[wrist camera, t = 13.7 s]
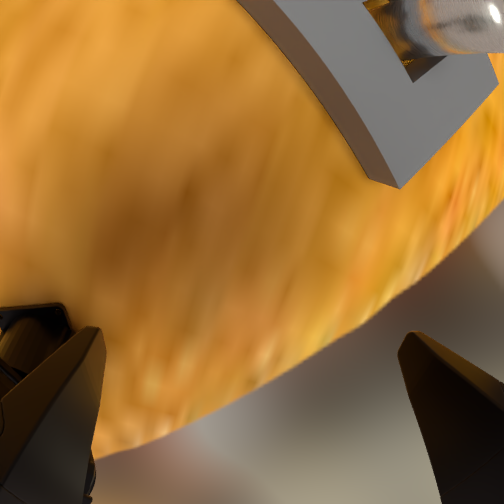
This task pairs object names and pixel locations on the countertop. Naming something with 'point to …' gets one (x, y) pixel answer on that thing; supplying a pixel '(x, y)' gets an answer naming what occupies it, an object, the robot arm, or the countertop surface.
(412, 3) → the peg
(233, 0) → the countertop surface
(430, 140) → the socket block
